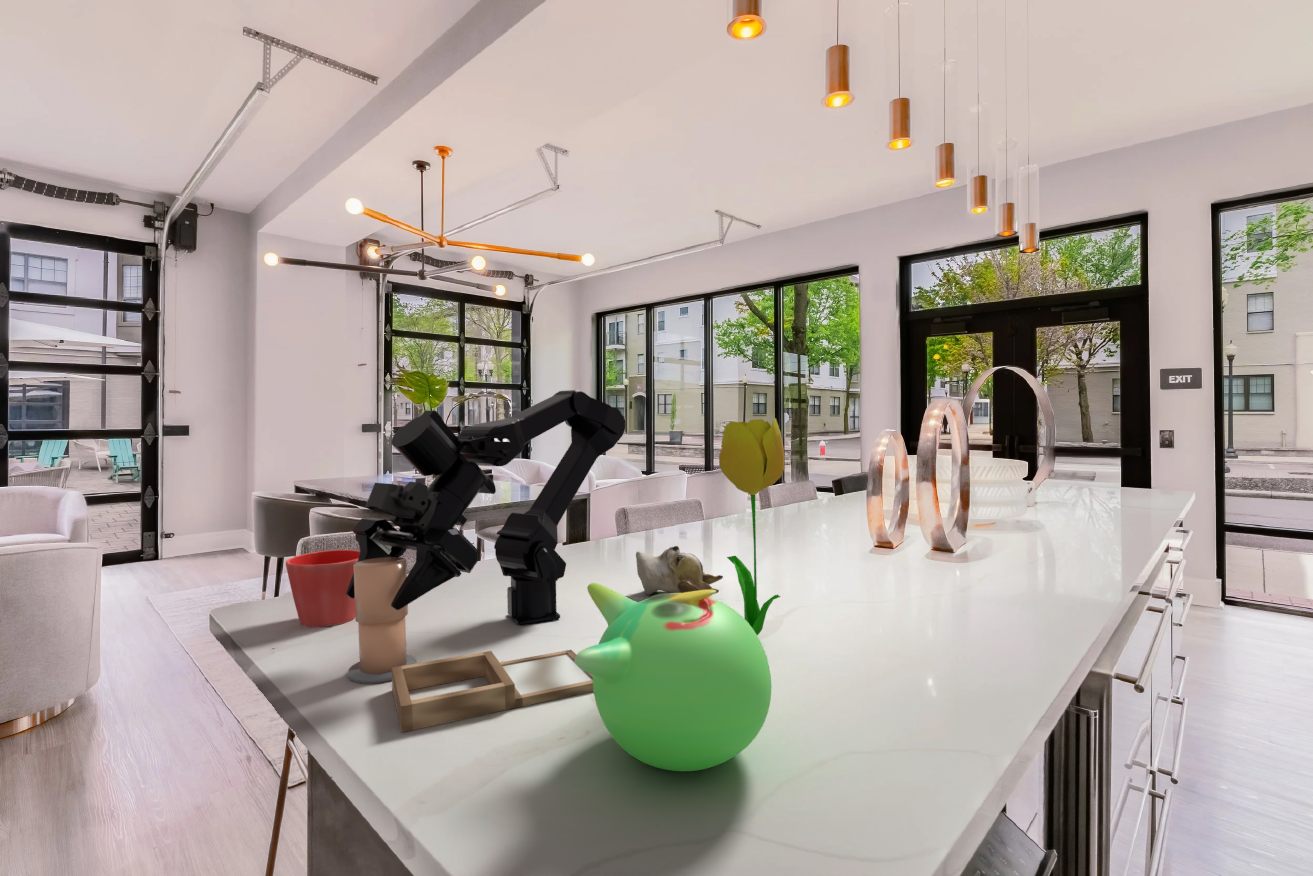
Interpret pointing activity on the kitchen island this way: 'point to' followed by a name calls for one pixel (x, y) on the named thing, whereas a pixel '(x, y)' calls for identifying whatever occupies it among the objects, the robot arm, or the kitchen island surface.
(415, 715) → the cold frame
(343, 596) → the flower pot
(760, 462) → the flower
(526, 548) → the robot arm
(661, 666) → the green round bird toy
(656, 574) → the ceramic sculpture
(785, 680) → the kitchen island surface
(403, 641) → the tan stacked cylinder
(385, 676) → the slate saucer
